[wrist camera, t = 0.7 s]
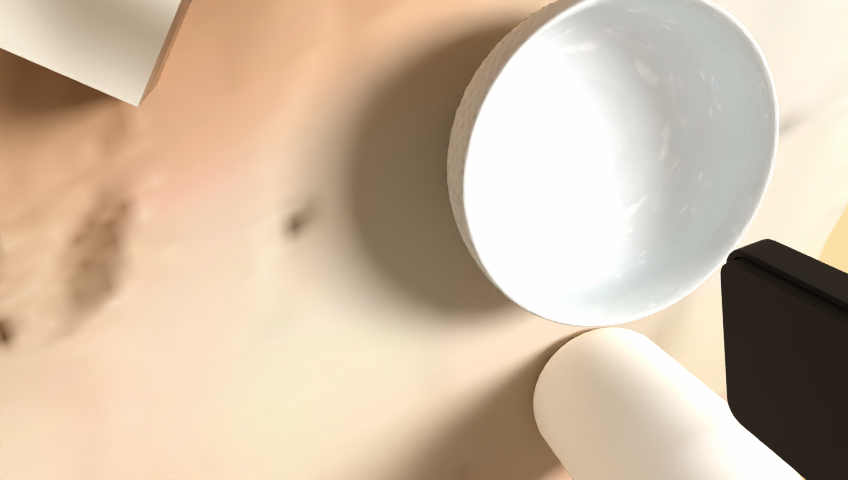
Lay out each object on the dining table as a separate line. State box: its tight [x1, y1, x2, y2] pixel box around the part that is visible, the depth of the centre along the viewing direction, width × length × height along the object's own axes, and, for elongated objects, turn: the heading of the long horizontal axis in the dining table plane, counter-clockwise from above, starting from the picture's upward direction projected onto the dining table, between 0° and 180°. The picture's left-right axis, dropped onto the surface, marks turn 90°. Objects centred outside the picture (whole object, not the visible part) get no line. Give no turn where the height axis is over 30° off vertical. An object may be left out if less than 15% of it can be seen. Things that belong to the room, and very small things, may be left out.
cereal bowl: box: [447, 0, 779, 327], centre depth 34 cm, size 17×17×7 cm
